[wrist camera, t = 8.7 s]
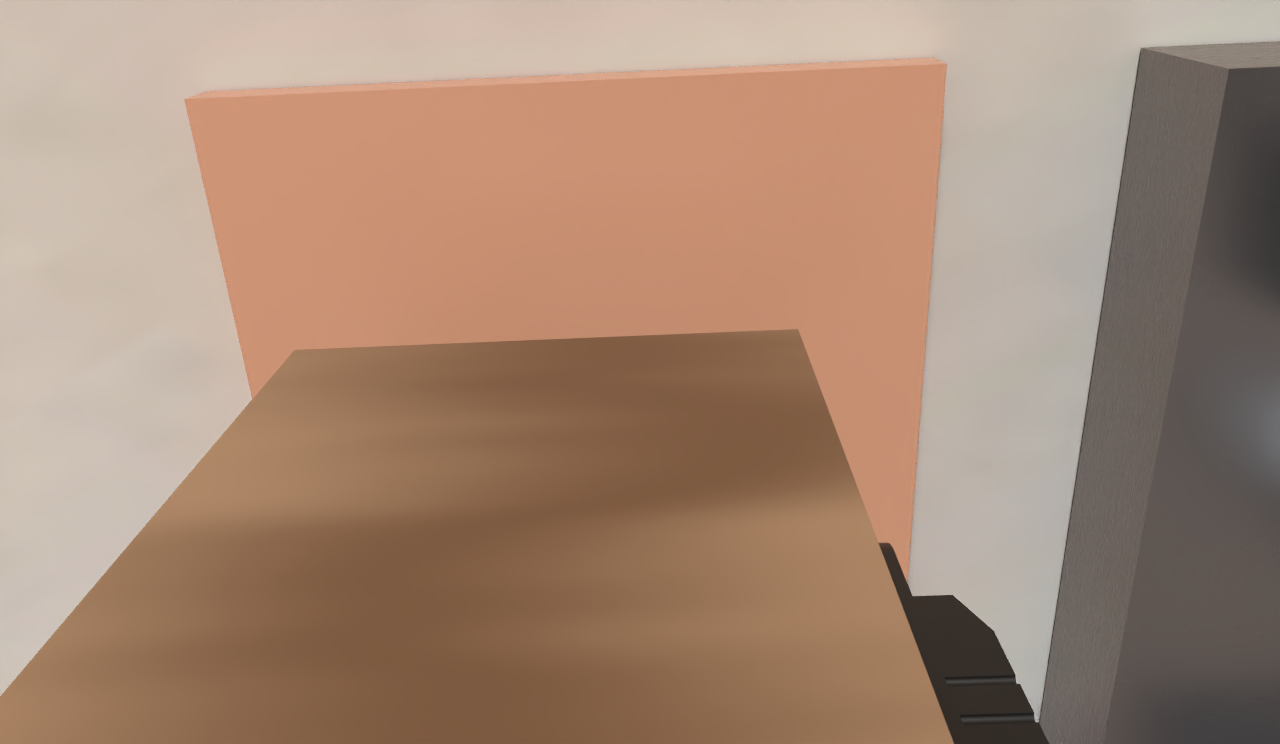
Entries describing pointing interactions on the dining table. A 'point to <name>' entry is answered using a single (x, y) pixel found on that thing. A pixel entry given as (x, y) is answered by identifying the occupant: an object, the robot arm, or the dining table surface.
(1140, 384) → the grey clamp base
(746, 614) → the sleeve
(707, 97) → the tile
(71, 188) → the dining table surface
